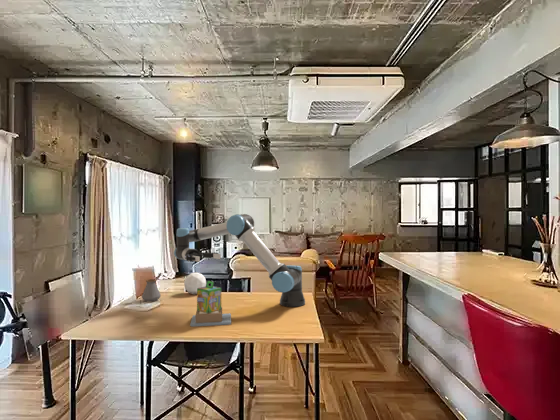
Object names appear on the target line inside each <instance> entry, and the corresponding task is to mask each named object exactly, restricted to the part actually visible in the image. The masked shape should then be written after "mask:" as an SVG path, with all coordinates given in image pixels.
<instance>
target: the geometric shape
mask: <svg viewBox="0 0 560 420" xmlns="http://www.w3.org/2000/svg"><path fill="white" fill-rule="evenodd" d="M183 283H184V290H186V292H187V293H188V294H192V295H197V288H201V287H206V286H207V280H206V277H205V276H204V275H203V274H202V273H200V272H196V271H195V272H191V273H189V274H188V275H187V276H186V277H185V279H184V282H183Z"/></svg>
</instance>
